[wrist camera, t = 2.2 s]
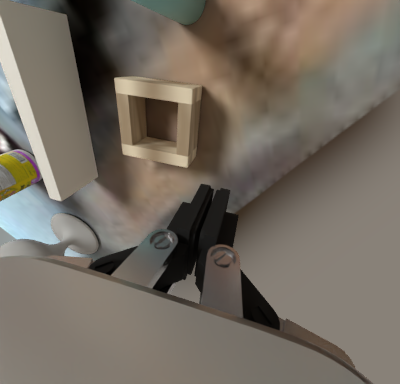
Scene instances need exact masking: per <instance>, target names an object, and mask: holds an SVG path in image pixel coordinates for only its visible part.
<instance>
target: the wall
mask: <svg viewBox="0 0 400 384" xmlns="http://www.w3.org/2000/svg"><path fill="white" fill-rule="evenodd" d="M0 62H1V65H2V67H3V70H4V73H5V76H6V78H7V81H8V84H9V87H10V89H11V92H12V95H13V98H14V100H15V103H16V106H17V109H18V111H19V114H20V117H21V120H22V122H23V125H24V128H25V131H26V133H27V136H28V139H29V142H30V144H31V147H32V150H33V153H34V155H35V158H36V161H37V164H38V166H39V169H40V172H41V175H42V177H43V180H44V183H45V186H46V188H47V191H48V194H49V197H50V198H51V199H54V200H58V201H63V200H65V199H66V198H68V197H69V196H71V195H72V194H74V193H75V192H77V191H78V190H80V189H81V188H83V187H84V186H85V185H87V184H88V183H90V182H91V181H93V180H94V179H96V178H97V177H98V172H97V167H96V162H95V157H94V152H93V147H92V142H91V137H90V131H89V126H88V121H87V116H86V111H85V106H84V101H83V96H82V91H81V86H80V81H79V75H78V70H77V65H76V60H75V55H74V50H73V45H72V40H71V35H70V30H69V25H68V19H67V15H66V14H62V13H58V12H54V11H50V10H46V9H42V8H38V7H34V6H30V5H25V4H21V3H17V2H13V1H9V0H0Z"/></svg>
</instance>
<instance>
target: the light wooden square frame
mask: <svg viewBox="0 0 400 384" xmlns="http://www.w3.org/2000/svg"><path fill="white" fill-rule="evenodd" d="M114 81H115V90H116V98H117V107H118V116H119V124H120V133H121V142H122V150H123V155H128V156H133V157H138V158H142V159H147V160H152V161H157V162H162V163H166V164H171V165H176V166H181V167H186V168H188V166H189V165H190V164H191V162H192V161H193V160H194V158H195V157H196V151H197V140H198V129H199V118H200V106H201V95H202V85H195V84H188V83H180V82H173V81H166V80H158V79H151V78H144V77H136V76H129V77H118V78H114ZM145 97H146V98H153V99H159V100H166V101H172V102H178V123H177V142H172V141H167V140H162V139H156V138H151V137H147V127H146V106H145Z"/></svg>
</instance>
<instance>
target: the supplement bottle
mask: <svg viewBox="0 0 400 384" xmlns="http://www.w3.org/2000/svg"><path fill="white" fill-rule="evenodd" d="M41 179H42V175H41V172H40V169H39V166H38V164H37V161H36V158H35V157H34V156H33V155H31V154H30V153H28V152H26V151H24V150H19V149H17V150H13V151H10V152H7V153H4V154H1V155H0V201H2V200H4V199H6V198H7V197H9V196H11V195H13V194H15V193H17V192H19V191H21V190H23V189H25V188H27V187H29V186H31V185H33V184H34V183H36V182H38V181H40V180H41Z"/></svg>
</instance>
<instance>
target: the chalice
mask: <svg viewBox="0 0 400 384" xmlns="http://www.w3.org/2000/svg"><path fill="white" fill-rule="evenodd" d="M51 227H52V230H53V232H54V234H55V235H56V237H57V238H58V239H59V240H60V241H61V242H59V243H58V244H54V245H49V244H45V243H42V242H38V241H35V240H29V239H18V240H13V241H10V242H8V243H5V244H4V245H2V246H0V257H5V256H20V255H26V256H39V257H45V256H52V255H55V256H64V253H65V250H66V248H67V247H68V248H70V249H71V250H73V251H75V252H78V253H81V254H93V253H95V252H96V251H97V250H98V247H99V243H98V240H97V237H96V235H95V234H94V232H93V231H92V230H91V229H90V228H89V227H88V226H87V225H86V224H85V223H84V222H83V221H81V220H80V219H78V218H76V217H74V216H72V215H69V214H65V213H58V214H55V215H54V216H52V219H51Z"/></svg>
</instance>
